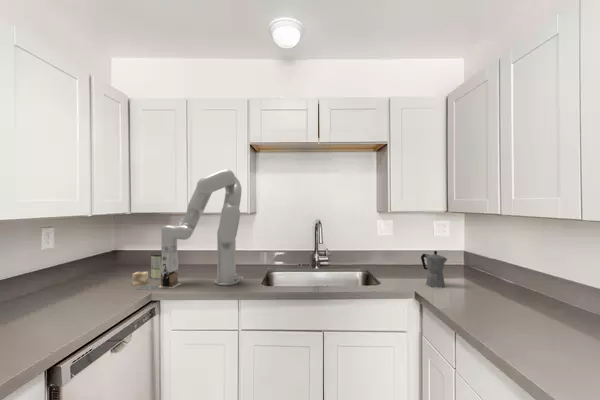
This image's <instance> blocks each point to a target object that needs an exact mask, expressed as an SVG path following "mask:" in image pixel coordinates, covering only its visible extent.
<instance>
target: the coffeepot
mask: <svg viewBox="0 0 600 400" xmlns="http://www.w3.org/2000/svg"><path fill="white" fill-rule="evenodd" d="M420 259H421V263H422V266H423V269H424V270H428V273H427V278H426V282H425V285H426V286H427V285H428V286H427V287H429V286H432V287H431V288H435V287H442V288H444V287H446V284H445V278H444V273H443V270H444V267H445V263H446V262H447V261H448V258H446V257H445V256H442V255H440V254H438V251H437V250H434V251H433V254H427V253H422V254H421V256H420ZM425 260H426V262H425ZM426 265H427V267H426Z"/></svg>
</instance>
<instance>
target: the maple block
mask: <svg viewBox="0 0 600 400" xmlns="http://www.w3.org/2000/svg"><path fill="white" fill-rule="evenodd" d="M147 283H149V271H136V272H134V273H132V285H133V286H139V285H140V286H142V285H143V286H145V285H146V284H147Z"/></svg>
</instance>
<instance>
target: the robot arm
mask: <svg viewBox="0 0 600 400" xmlns="http://www.w3.org/2000/svg"><path fill="white" fill-rule="evenodd" d="M223 188H224V189H225V194H224V200H223V205H222V208H221V211H220V213H221V214H220V219H219V225H218V228H217V231H216V236H217V238H216V240H217V242H216V244H217V245H216V247H217V253H216V255H217V260H216V261H217V267H216V269H217V272H216V274H217V275H216V276H217V279H215V280H214V281H213V282H214V285H218V286H232V285H237V284H239V281H244V276H242V275H238V273H236V264H237V263H236V259H237V257H236V252H237V251H236V249H237V248H236V238H237V235H238V230H239V224H240V219H241V209H240V206H241V199H242V185H241V182H240V180H239V179H238V178H237V176H235V173H234V172H233V171H232V170H230V169H221V170H220V171H218V172H214V173H213V174H210V175H208V176H205V177H202V178H200V179H199V180H198V181H197V183H196V187H195V190H194V191H193V193H192V195H191V198H190V200H189V202H188V204H187V209H186V213H185V215H184V217H183V220H182V221H181V224H180V225H174V224H168V225H167V224H166V225H163V226H161V233H160V234H161V236H160V237H161V243H160V245H161V251H160V252H161V253H162V257H161V275H162V278H163V286H169V278H168V277H169V273H171V272H178V271H177V270H178V269H179V256H178V255H179V254H178V240H182V241H185V240H188V239H190V238H191V237H192V235H193V234H194V231H195V228H196V226H197V225H198V223H199V220H200V218H201V216H202V215H203V214H204V212H205V209H206V207H207V204H208V203H209V200H210V198H211V196H212V194H213V193H214V192H216V191H219V190H222V189H223ZM166 271H167V272H166ZM165 273H167V275H166V274H165Z"/></svg>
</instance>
